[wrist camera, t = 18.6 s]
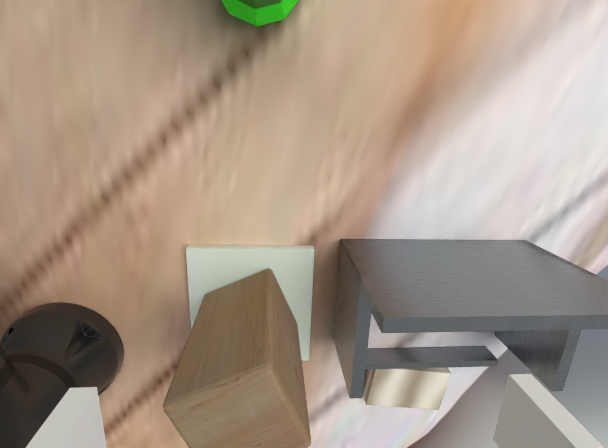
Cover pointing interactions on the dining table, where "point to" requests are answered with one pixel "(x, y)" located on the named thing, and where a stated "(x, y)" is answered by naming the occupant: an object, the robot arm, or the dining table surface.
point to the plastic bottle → (259, 10)
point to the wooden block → (241, 371)
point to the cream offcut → (407, 387)
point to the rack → (463, 304)
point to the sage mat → (250, 260)
